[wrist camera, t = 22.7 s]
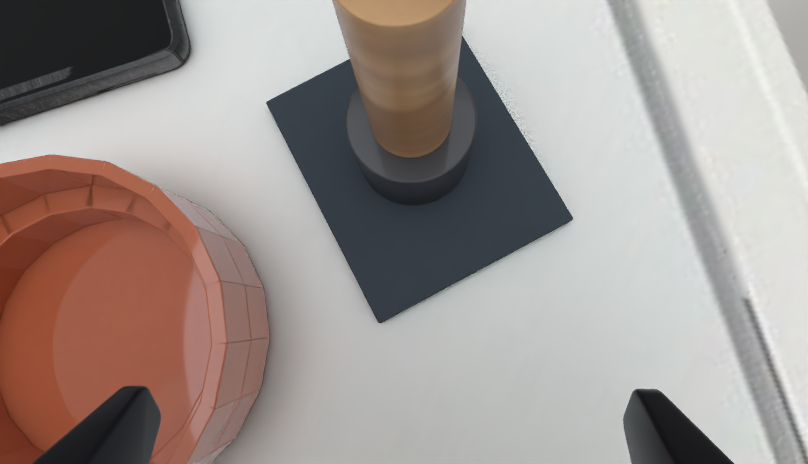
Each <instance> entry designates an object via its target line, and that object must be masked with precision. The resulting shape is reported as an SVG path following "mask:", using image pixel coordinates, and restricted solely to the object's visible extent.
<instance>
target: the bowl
mask: <svg viewBox="0 0 808 464" xmlns="http://www.w3.org/2000/svg"><path fill="white" fill-rule="evenodd" d="M269 337H270V334H269V326H268V318H267V310H266V302H265V294H264V289H263V285H262V283H261V281H260V279H259V277H258V275H257V272H256V270H255V268H254V266H253V264H252V262H251V260H250V258H249V256H248V253H247V251H246V249H245V247H244V245H243V244H242V243H241V242H240V241H239V240H238V239H237V238H236V237H235V236H234V235H233V234H232V233H231V232H230V231H229V230H228V229H227V228H226V227H225V226H224V225H223V224H222V223H221V222H220V220H219V219H218V218H217V217H216V216H215V215H214V214H213V213H211V212H210V211H208V210H206V209H204V208H202V207H200V206H198V205H196V204H194V203H192V202H190V201H188V200H186V199H184V198H182V197H180V196H178V195H176V194H174V193H172V192H170V191H168V190H166V189H164V188H161V187H159V186H157V185H155V184H153V183H151V182H149V181H147V180H145V179H143V178H141V177H139V176H137V175H135V174H132V173H130V172H128V171H126V170H124V169H122V168H120V167H118V166H116V165H114V164H112V163H110V162H106V161H100V160H92V159H84V158H76V157H69V156H61V155H45V156H40V157H34V158H29V159H23V160H18V161H13V162H7V163H2V164H0V464H31V463H32V462H34V461H35V460H36V459H37V458H38V457H40V456H41V455H42V454H43V453H44V452H45V451H47V450H48V449H49V448H50V447H51V446H53V445H54V444H55V443H56V442H57V441H58V440H60V439H61V438H62V437H63V436H64V435H66V434H67V433H68V432H69V431H70V430H71V429H73V428H74V427H75V426H76V425H77V424H79V423H80V422H81V421H82V420H83V419H85V418H86V417H87V416H88V415H89V414H90V413H92V412H93V411H94V410H95V409H96V408H98V407H99V406H100V405H101V404H102V403H103V402H105V401H106V400H107V399H108V398H109V397H111V396H112V395H113V394H114V393H115V392H116V391H118V390H119V389H120V388H122V387H124V386H146V387H148V388H149V390H150V391H151V393H152V395H153V397H154V399H155V401H156V403H157V405H158V407H159V409H160V411H161V424H160V428H159V431H158V435H157V438H156V442H155V445H154V449H153V452H152V456H151V460H150V463H149V464H211V463H212V462H213V461H214V460H215V459H216V458H217V457H218V456H219V454H220V453H221V452H222V451H223V450H224V449H225V448H226V447H227V446H228V445H229V444H230V443H231V442H232V441H233V440H234V439H235V437H236V436H237V435H238V433H239V431H240V429H241V427H242V425H243V423H244V421H245V419H246V417H247V415H248V413H249V411H250V409H251V407H252V405H253V403H254V401H255V399H256V397H257V395H258V393H259V392H260V388H261V385H262V379H263V373H264V368H265V362H266V357H267V351H268V346H269V340H270V339H269Z"/></svg>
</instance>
